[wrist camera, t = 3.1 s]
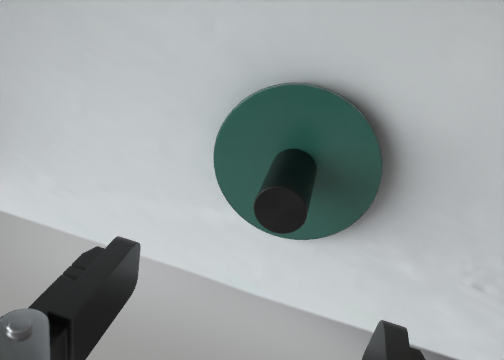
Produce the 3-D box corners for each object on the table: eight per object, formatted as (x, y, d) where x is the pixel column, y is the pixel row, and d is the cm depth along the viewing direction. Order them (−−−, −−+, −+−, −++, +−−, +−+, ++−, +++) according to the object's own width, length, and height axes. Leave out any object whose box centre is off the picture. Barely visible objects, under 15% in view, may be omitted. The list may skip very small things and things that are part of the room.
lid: (233, 60, 22) (196, 86, 17) (407, 105, 21) (422, 146, 16) (208, 205, 26) (173, 259, 21) (351, 248, 25) (349, 315, 20)
